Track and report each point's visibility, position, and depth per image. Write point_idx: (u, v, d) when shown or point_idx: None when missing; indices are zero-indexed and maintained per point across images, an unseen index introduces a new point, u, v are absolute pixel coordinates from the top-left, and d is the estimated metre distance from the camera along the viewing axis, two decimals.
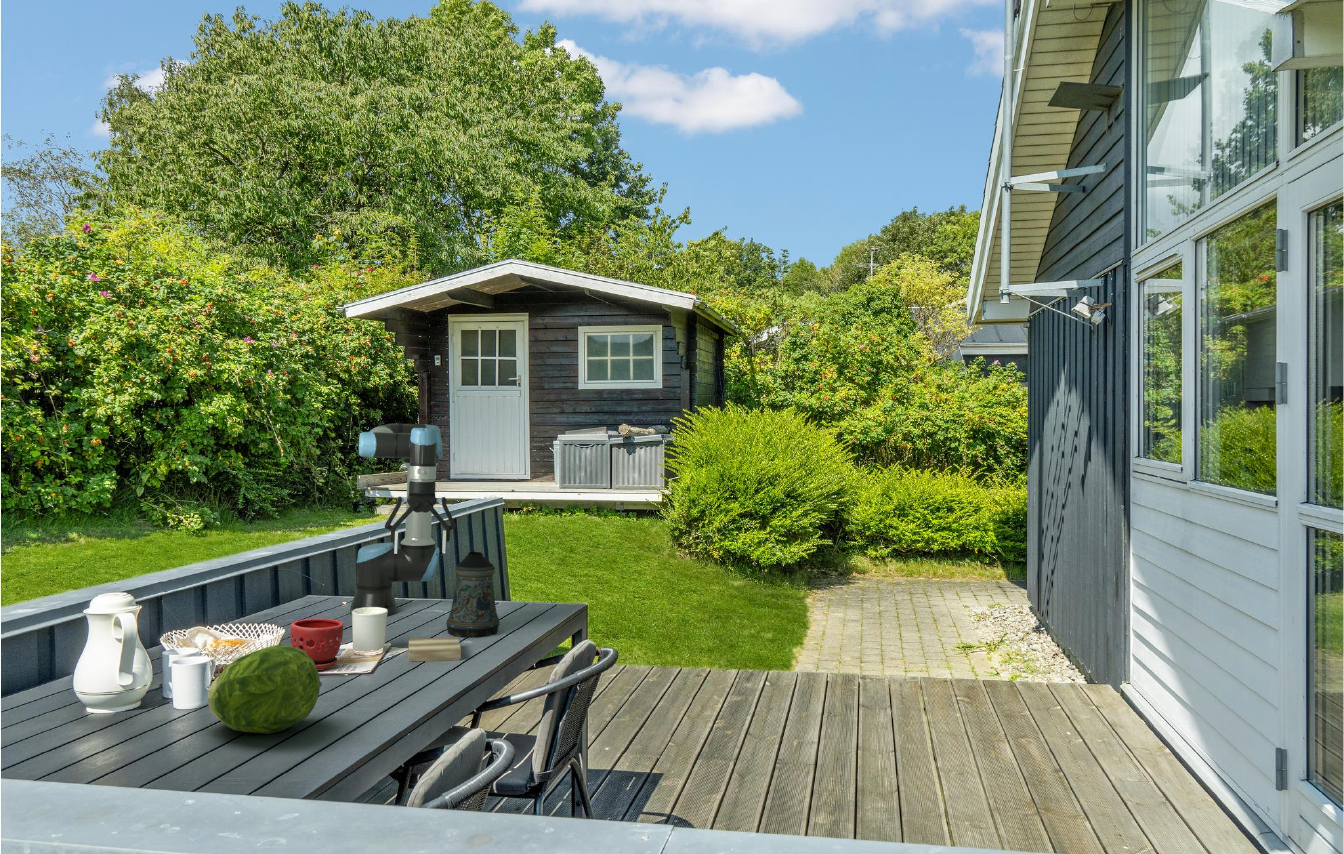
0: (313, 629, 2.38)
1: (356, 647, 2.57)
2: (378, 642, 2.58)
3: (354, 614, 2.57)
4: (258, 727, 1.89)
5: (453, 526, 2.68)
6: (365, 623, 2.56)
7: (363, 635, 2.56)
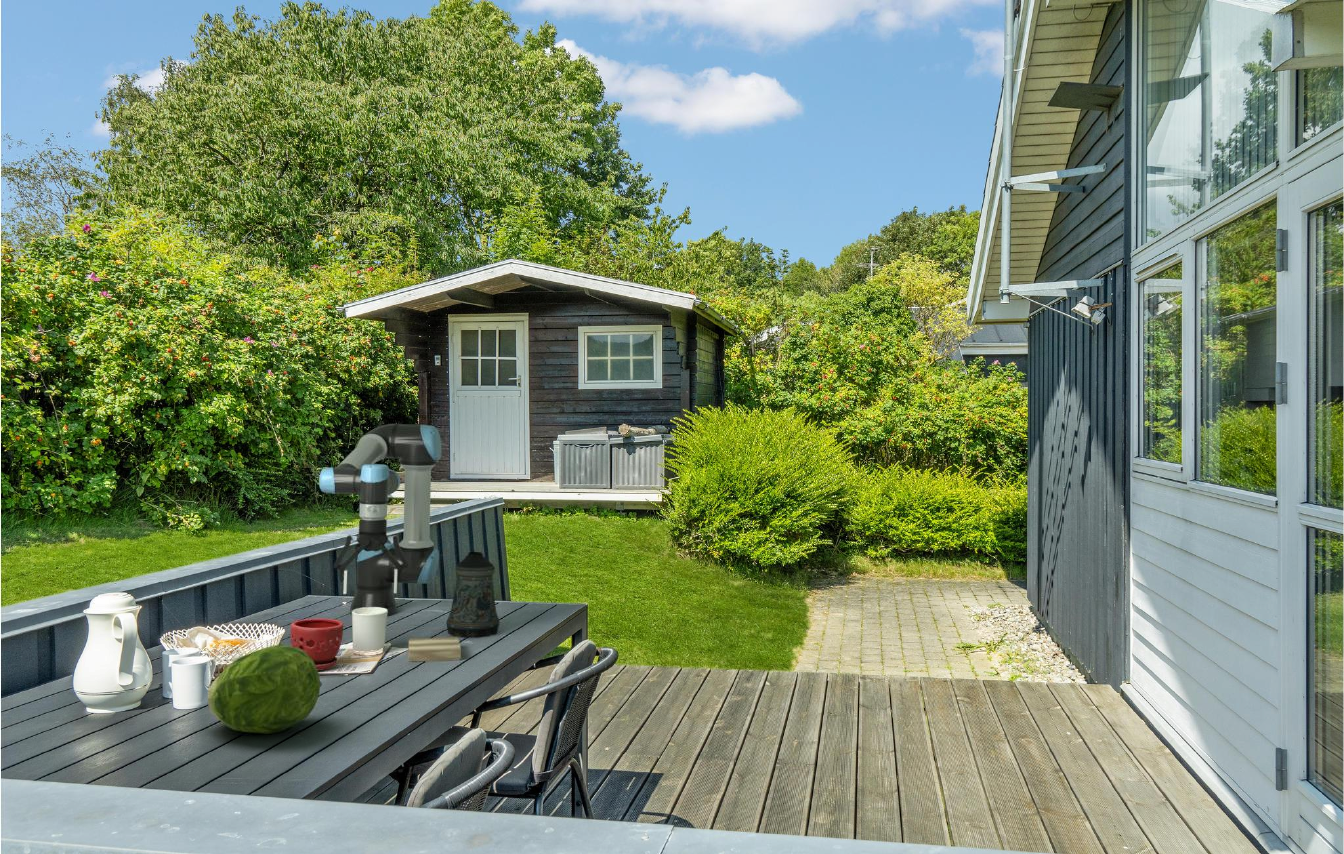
0: (313, 629, 2.38)
1: (356, 647, 2.57)
2: (378, 642, 2.58)
3: (354, 614, 2.57)
4: (258, 727, 1.89)
5: (405, 565, 2.61)
6: (365, 623, 2.56)
7: (363, 635, 2.56)
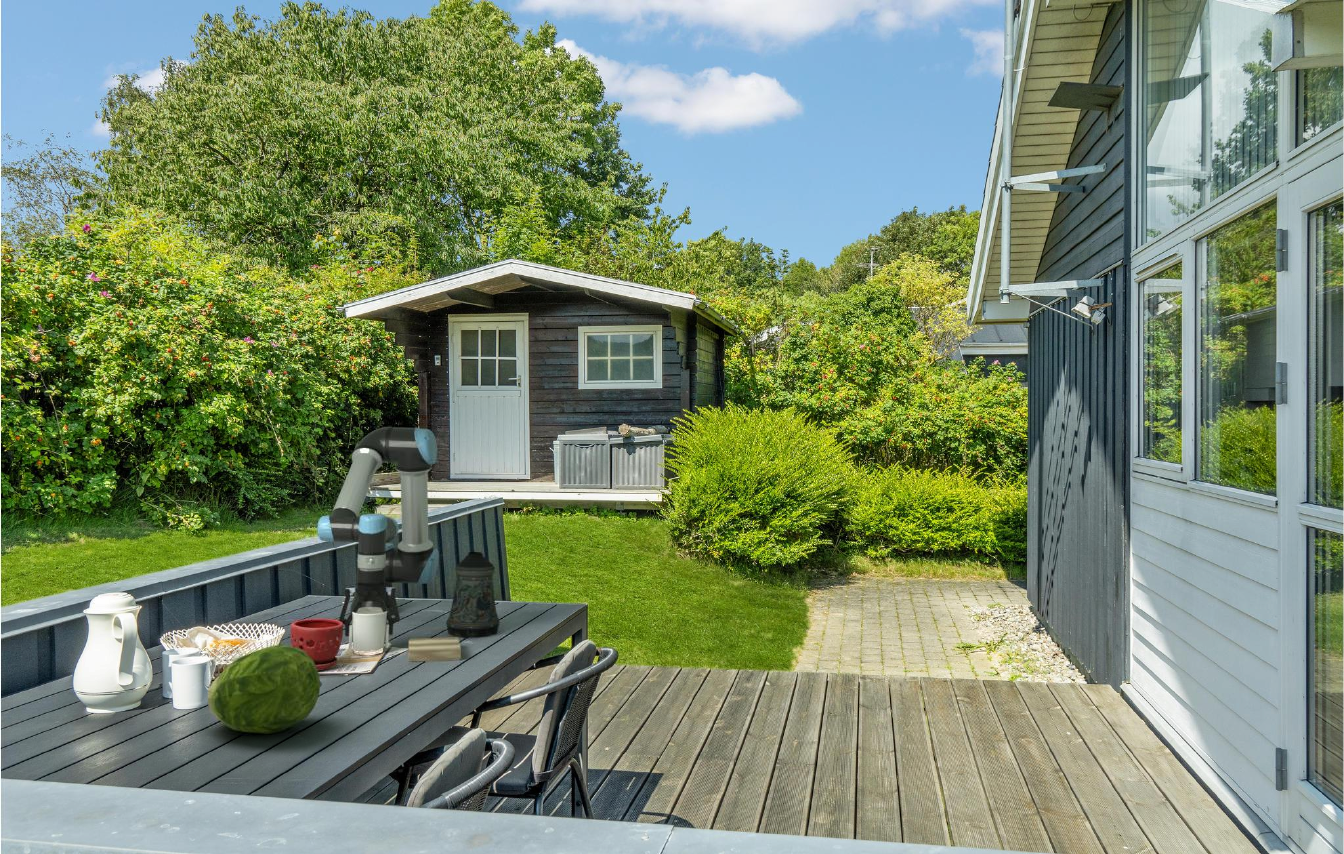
0: (313, 629, 2.38)
1: (356, 647, 2.57)
2: (378, 642, 2.58)
3: (354, 614, 2.57)
4: (258, 727, 1.89)
5: (396, 619, 2.61)
6: (365, 623, 2.56)
7: (363, 635, 2.56)
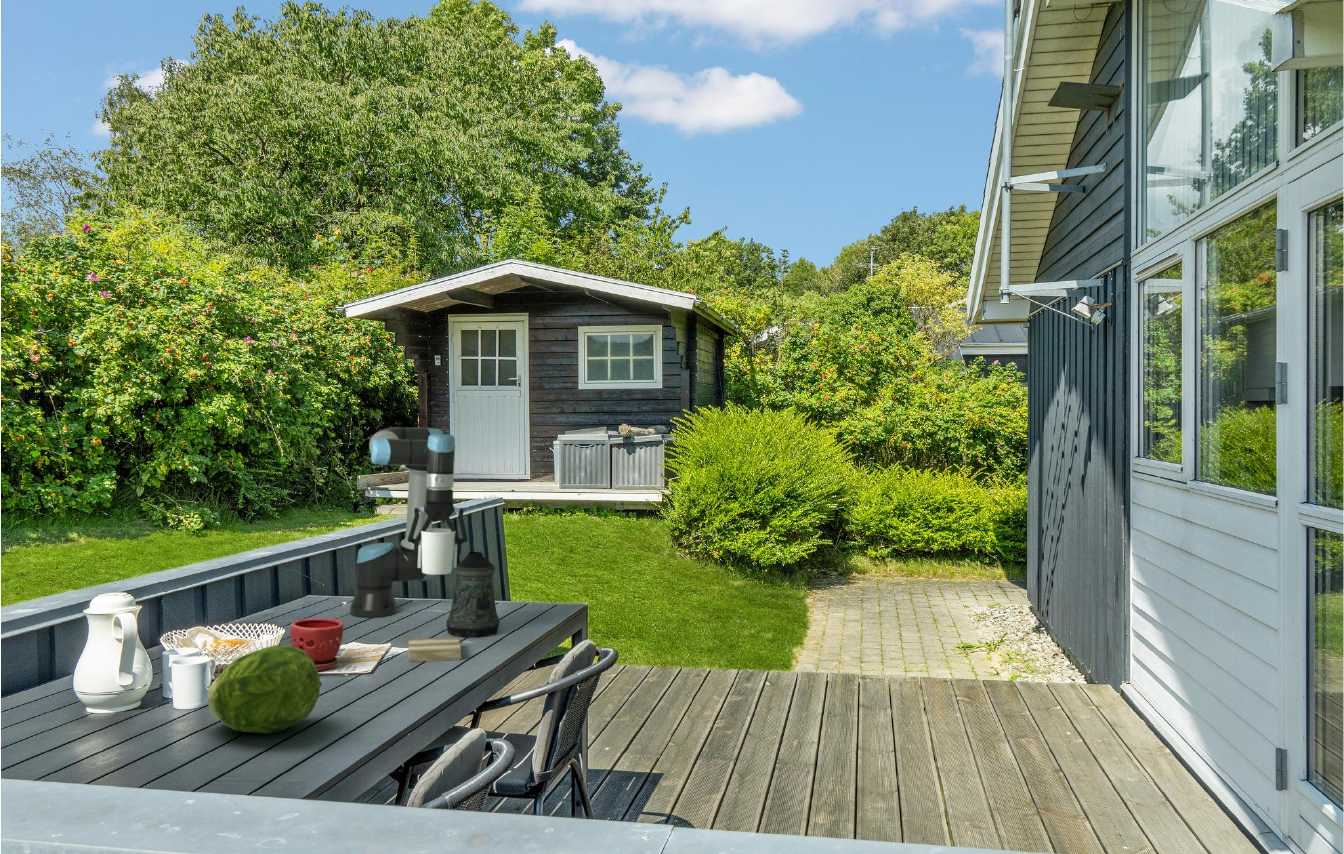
0: (313, 629, 2.38)
1: (425, 566, 2.57)
2: (447, 561, 2.58)
3: (423, 533, 2.57)
4: (258, 727, 1.89)
5: (464, 539, 2.61)
6: (434, 542, 2.56)
7: (432, 554, 2.56)
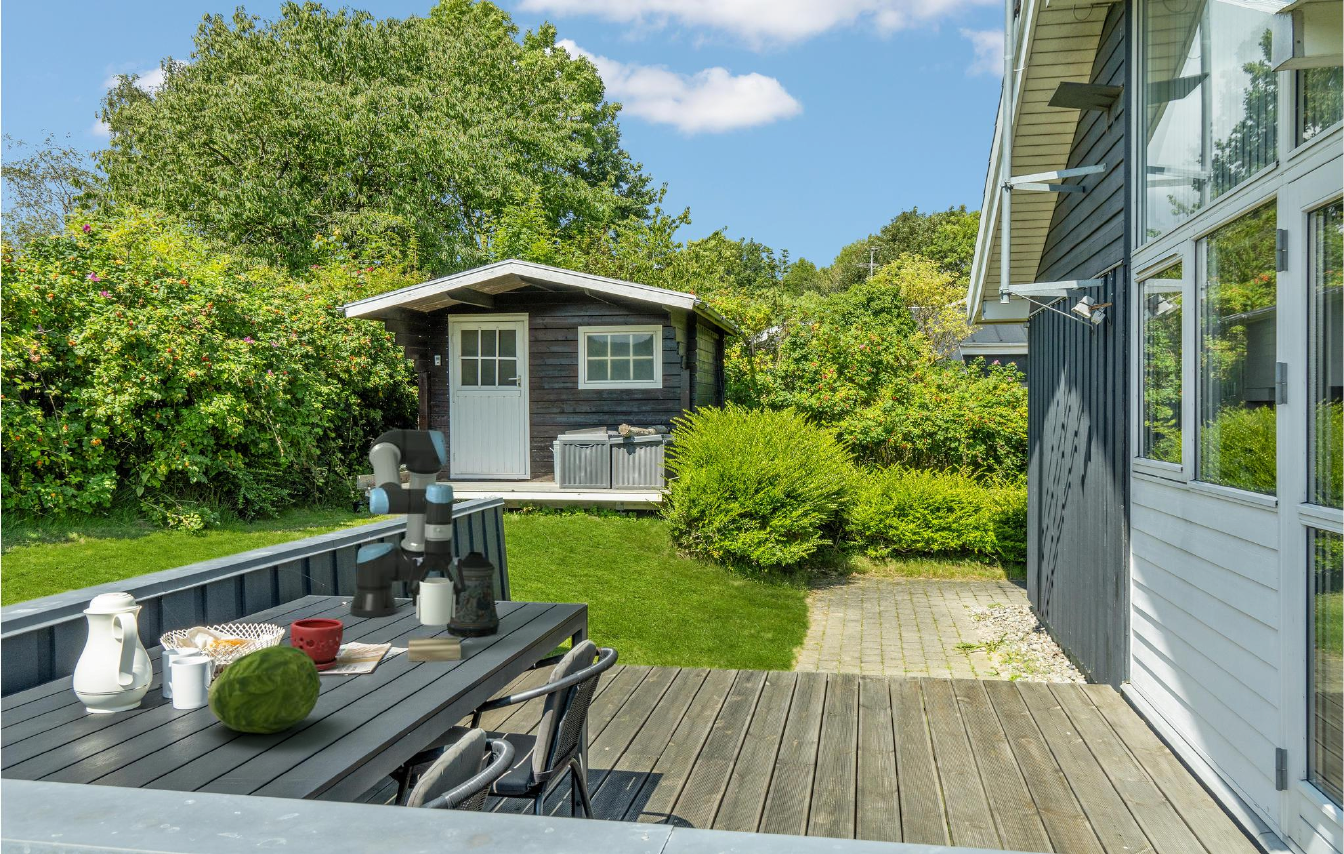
0: (313, 629, 2.38)
1: (424, 616, 2.57)
2: (446, 612, 2.58)
3: (422, 583, 2.57)
4: (258, 727, 1.89)
5: (463, 589, 2.62)
6: (433, 592, 2.56)
7: (431, 605, 2.56)
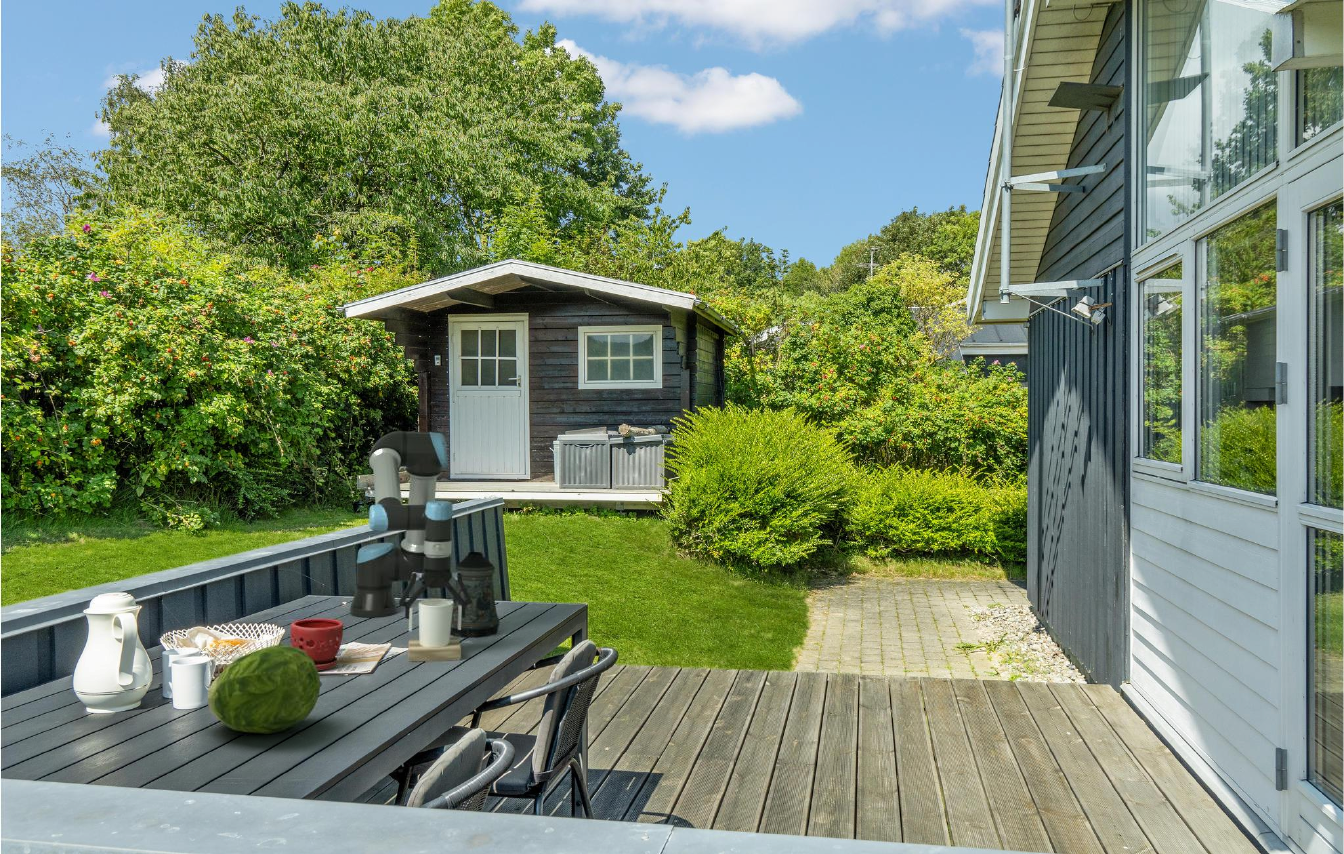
0: (313, 629, 2.38)
1: (423, 638, 2.57)
2: (445, 634, 2.58)
3: (421, 606, 2.57)
4: (258, 727, 1.89)
5: (469, 601, 2.62)
6: (432, 615, 2.56)
7: (430, 627, 2.56)
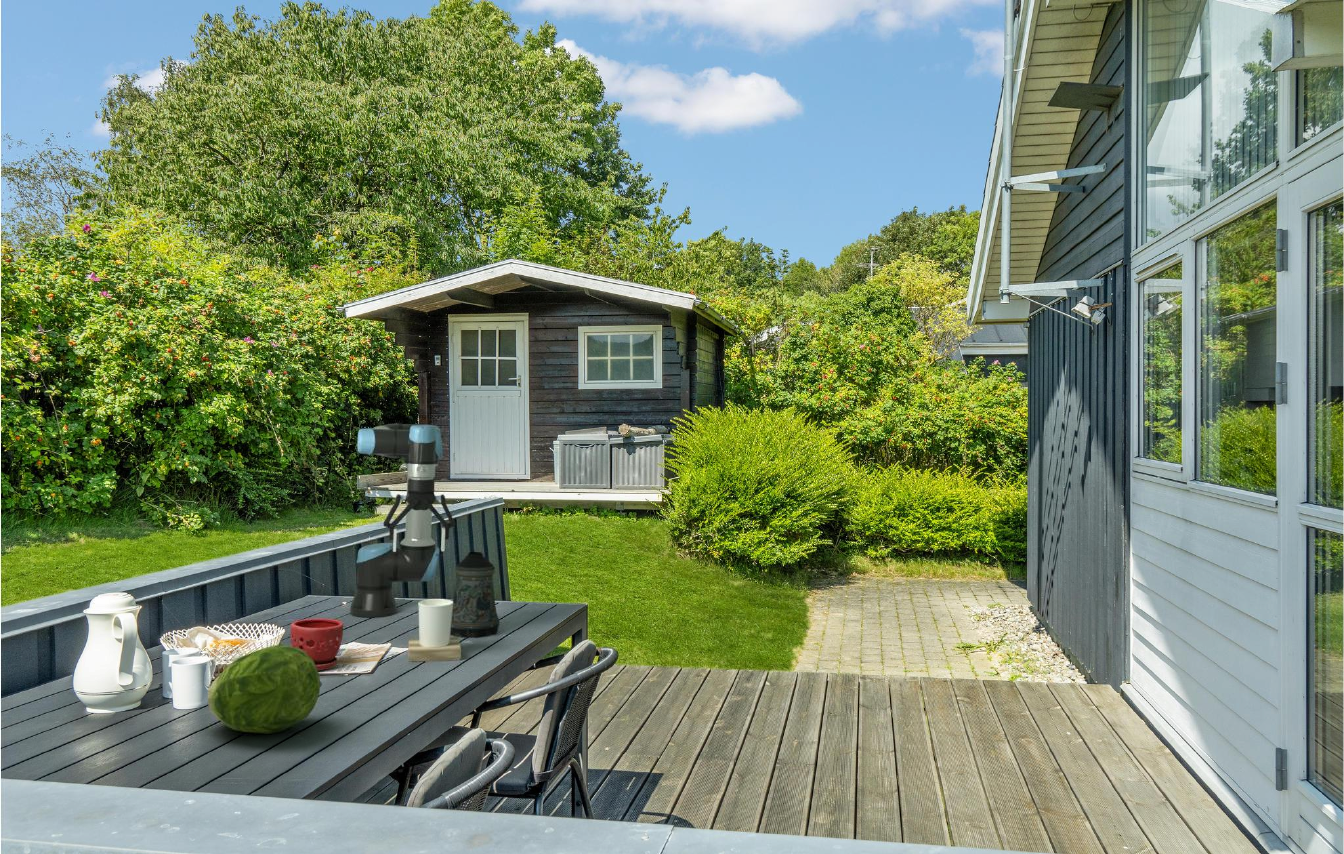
0: (313, 629, 2.38)
1: (423, 638, 2.57)
2: (445, 634, 2.58)
3: (421, 606, 2.57)
4: (258, 727, 1.89)
5: (452, 524, 2.67)
6: (432, 615, 2.56)
7: (430, 627, 2.56)
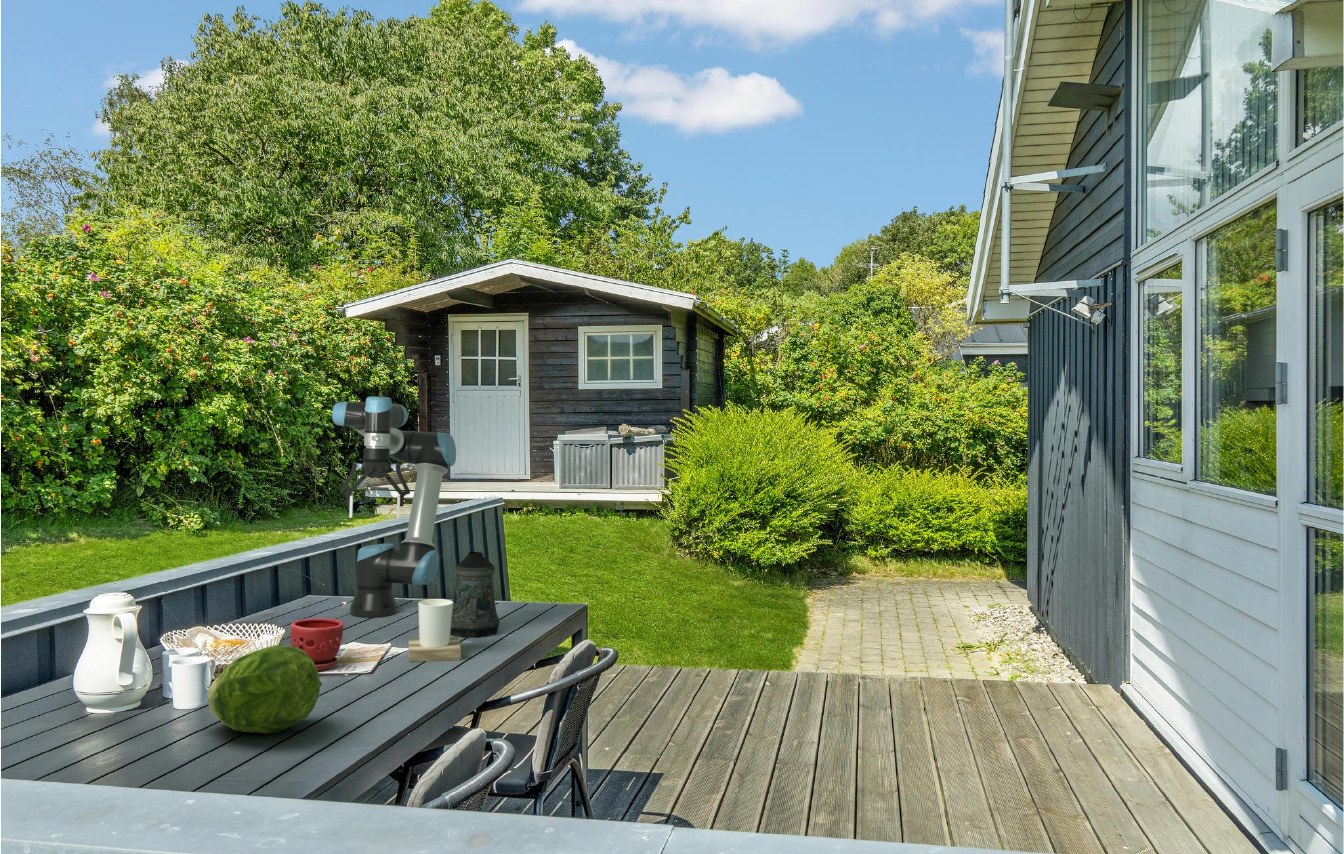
0: (313, 629, 2.38)
1: (423, 639, 2.57)
2: (445, 634, 2.58)
3: (421, 606, 2.57)
4: (258, 727, 1.89)
5: (407, 492, 2.78)
6: (432, 615, 2.56)
7: (430, 627, 2.56)
